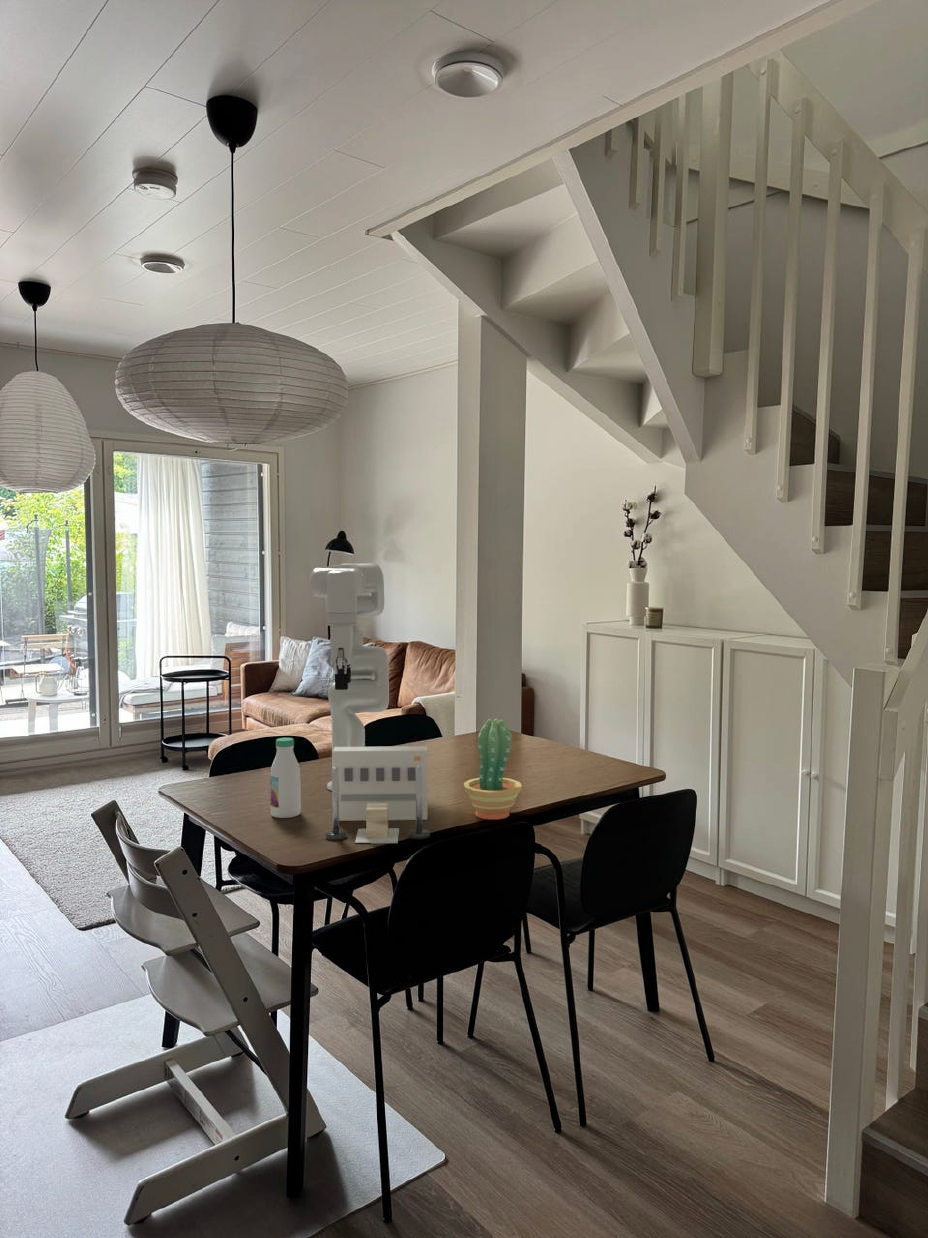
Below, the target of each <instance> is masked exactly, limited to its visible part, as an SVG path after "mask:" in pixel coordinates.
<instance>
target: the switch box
mask: <svg viewBox="0 0 928 1238" xmlns="http://www.w3.org/2000/svg"><path fill="white" fill-rule="evenodd" d="M416 766H422V821H423V820H425V821H427V820H428V819H429V818H428V817H429V816H428V810H429V809H428V745H421V746H420V745H417V746H416V745H415V746H414V745H411V746H410V745H404V746H403V745H401V746H400V745H399V746H398V745H396V746H394V745H393V746H389V745H388V746H365V747H335V748H334V750H333V767H339V822H341V821H342V822H343V821H344V822H345V821H348V822H349V821H352V822H353V821H366V808H367V804H373V803H388V821H416Z"/></svg>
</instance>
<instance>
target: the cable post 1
mask: <svg viewBox="0 0 928 1238" xmlns="http://www.w3.org/2000/svg"><path fill="white" fill-rule="evenodd" d="M331 781H332V791H331V808H332V809H331V812H332V813H331V814H332V815H331V817H332V818H331V820H332V821H331V823H332V824H331V825H332V826H331V827H332V830H328V831H326V832H324V833H325V836H324V837H325V838H324V839H325V840H327V839H329V840H328V841H331V840H337V841H341V840H340V839H343V840H345V839H346V838H347V831H346V830H344V829H343V830H342V829H340V821H339V767H332V766H331ZM345 837H346V838H345ZM344 838H345V839H344Z"/></svg>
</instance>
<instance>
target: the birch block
mask: <svg viewBox="0 0 928 1238" xmlns="http://www.w3.org/2000/svg"><path fill="white" fill-rule="evenodd" d="M365 821H366V823H365V825H366V828H365V829H366V838H388V828H389V820H388V803H373V804H367V808H366V820H365Z"/></svg>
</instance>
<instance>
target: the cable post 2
mask: <svg viewBox="0 0 928 1238" xmlns="http://www.w3.org/2000/svg"><path fill="white" fill-rule="evenodd" d="M430 834H431V833H430V830H428V829H427V828H426V829H425V828H423V820H422V766H416V820H415V828H414V829H410V830H409V831H408V838H410V839H412V840H425V839H428V838H430Z"/></svg>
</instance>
